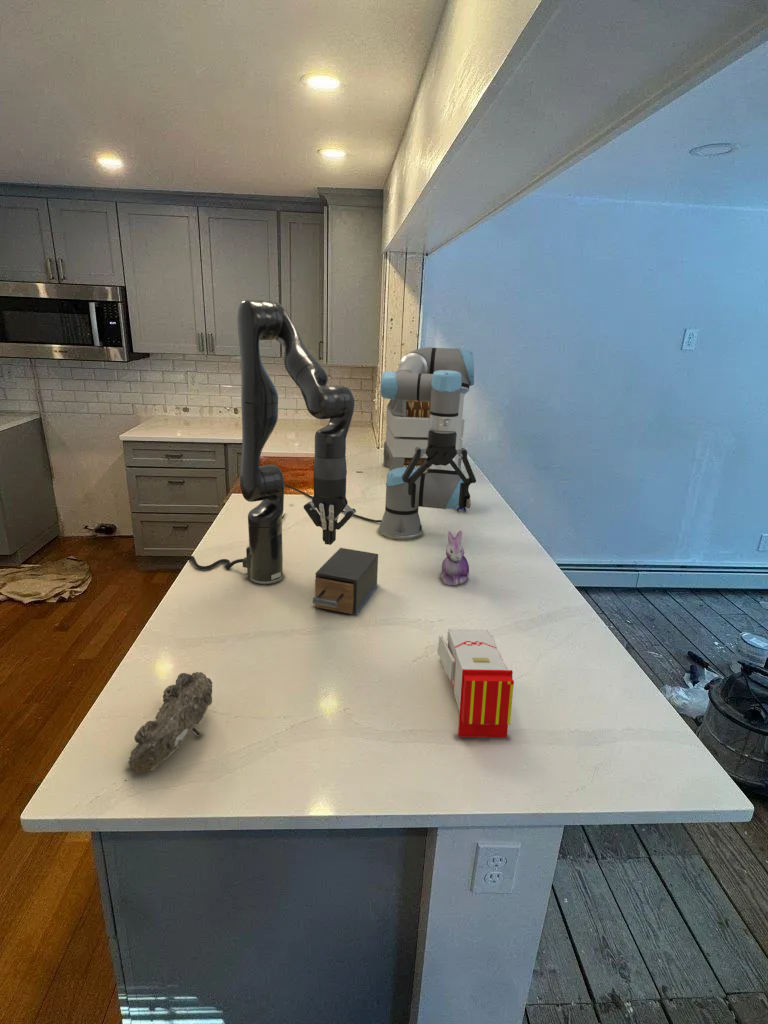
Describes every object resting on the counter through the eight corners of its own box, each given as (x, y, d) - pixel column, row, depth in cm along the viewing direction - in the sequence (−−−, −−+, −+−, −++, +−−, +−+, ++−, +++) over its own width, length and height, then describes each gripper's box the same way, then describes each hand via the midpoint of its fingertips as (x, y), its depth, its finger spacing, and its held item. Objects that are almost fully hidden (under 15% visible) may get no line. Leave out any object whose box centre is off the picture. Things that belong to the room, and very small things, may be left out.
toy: (488, 613, 130) (523, 677, 101) (484, 667, 133) (517, 744, 104) (435, 612, 130) (455, 676, 101) (432, 666, 133) (451, 743, 103)
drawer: (342, 626, 139) (343, 597, 136) (305, 618, 142) (304, 589, 139) (371, 586, 159) (372, 560, 156) (338, 580, 162) (338, 554, 159)
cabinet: (356, 614, 146) (357, 580, 143) (315, 606, 149) (315, 572, 146) (377, 585, 162) (378, 553, 159) (339, 578, 165) (340, 547, 162)
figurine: (450, 589, 161) (455, 540, 156) (431, 574, 170) (435, 528, 165) (477, 583, 166) (482, 536, 161) (457, 569, 174) (462, 523, 169)
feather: (292, 507, 224) (294, 503, 223) (275, 531, 197) (278, 527, 197) (288, 505, 224) (291, 501, 223) (271, 528, 197) (273, 524, 197)
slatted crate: (382, 463, 289) (386, 382, 275) (445, 464, 293) (451, 384, 279) (390, 482, 257) (394, 392, 243) (460, 483, 261) (468, 394, 247)
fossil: (162, 673, 113) (214, 640, 108) (196, 704, 116) (248, 673, 111) (102, 765, 93) (163, 730, 88) (145, 799, 96) (206, 767, 91)
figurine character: (470, 516, 223) (465, 500, 237) (473, 499, 220) (467, 484, 233) (453, 516, 223) (449, 500, 236) (455, 498, 220) (451, 483, 233)
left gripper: (296, 474, 129) (297, 544, 135) (351, 482, 125) (349, 553, 131) (310, 466, 136) (310, 533, 141) (362, 473, 132) (360, 542, 138)
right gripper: (397, 432, 145) (393, 510, 153) (492, 434, 148) (484, 511, 155) (394, 426, 152) (390, 501, 160) (484, 428, 155) (477, 502, 162)
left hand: (329, 543), depth 136 cm, fingers closed
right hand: (436, 506), depth 157 cm, fingers open, 13 cm apart
